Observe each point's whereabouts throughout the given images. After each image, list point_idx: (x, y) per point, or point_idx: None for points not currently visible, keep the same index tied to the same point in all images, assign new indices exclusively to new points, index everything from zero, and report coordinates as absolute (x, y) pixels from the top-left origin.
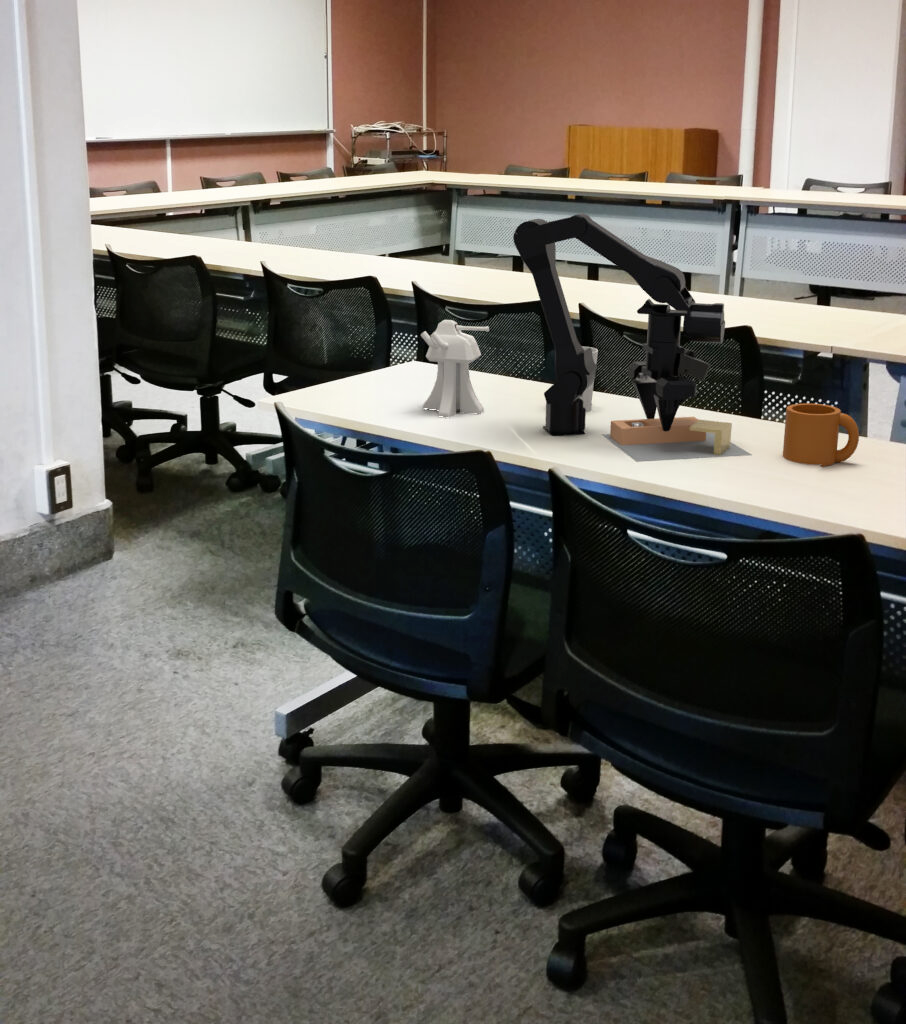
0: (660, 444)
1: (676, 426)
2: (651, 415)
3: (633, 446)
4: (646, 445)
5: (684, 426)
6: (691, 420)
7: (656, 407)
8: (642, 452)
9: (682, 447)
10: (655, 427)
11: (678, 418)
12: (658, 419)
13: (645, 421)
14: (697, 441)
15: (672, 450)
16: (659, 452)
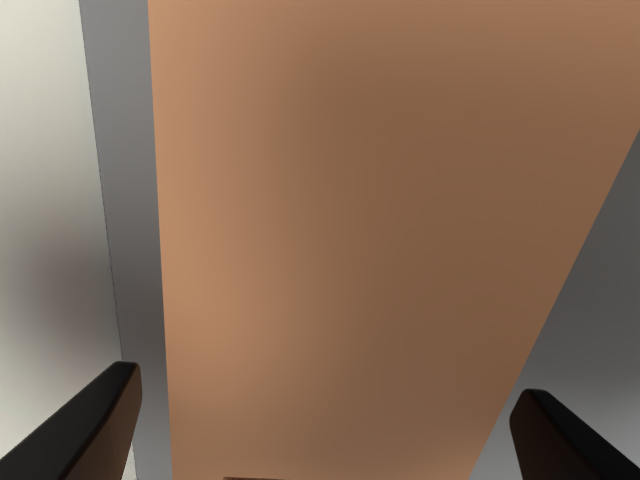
0: None
1: (537, 333)
2: (122, 426)
3: None
4: None
5: (567, 251)
6: (396, 28)
7: (65, 471)
8: None
9: (624, 262)
10: (464, 475)
11: (221, 159)
12: (213, 374)
13: (258, 477)
14: None
15: (637, 348)
16: (616, 418)
